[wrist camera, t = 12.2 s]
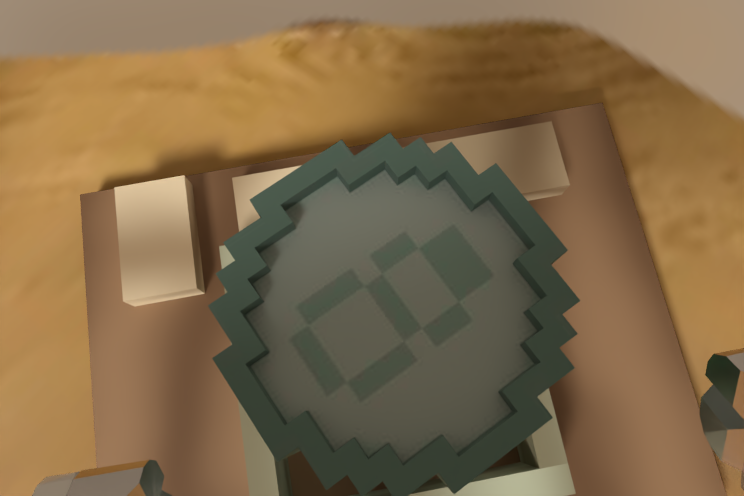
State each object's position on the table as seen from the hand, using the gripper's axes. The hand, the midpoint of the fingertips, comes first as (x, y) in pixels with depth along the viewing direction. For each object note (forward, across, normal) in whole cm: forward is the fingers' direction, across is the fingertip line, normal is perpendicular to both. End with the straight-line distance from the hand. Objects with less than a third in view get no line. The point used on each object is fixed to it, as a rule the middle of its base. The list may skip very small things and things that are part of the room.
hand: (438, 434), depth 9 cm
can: (+13, 0, +10) cm, 16 cm away
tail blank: (+18, +9, +5) cm, 20 cm away
